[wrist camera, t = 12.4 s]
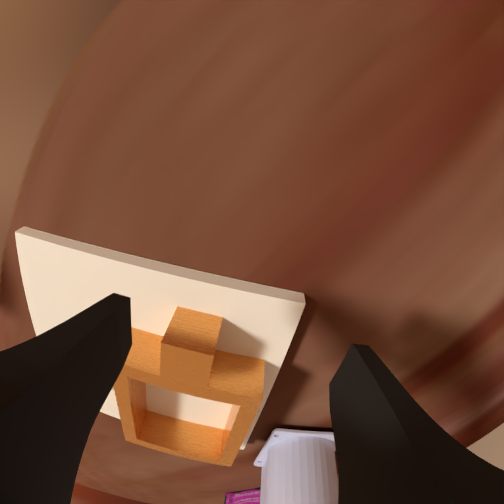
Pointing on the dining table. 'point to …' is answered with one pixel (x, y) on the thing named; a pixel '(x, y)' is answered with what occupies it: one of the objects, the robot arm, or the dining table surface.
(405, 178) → the dining table surface
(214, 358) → the wooden link
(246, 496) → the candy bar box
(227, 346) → the board
